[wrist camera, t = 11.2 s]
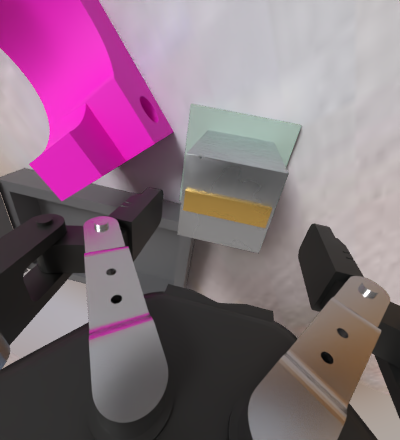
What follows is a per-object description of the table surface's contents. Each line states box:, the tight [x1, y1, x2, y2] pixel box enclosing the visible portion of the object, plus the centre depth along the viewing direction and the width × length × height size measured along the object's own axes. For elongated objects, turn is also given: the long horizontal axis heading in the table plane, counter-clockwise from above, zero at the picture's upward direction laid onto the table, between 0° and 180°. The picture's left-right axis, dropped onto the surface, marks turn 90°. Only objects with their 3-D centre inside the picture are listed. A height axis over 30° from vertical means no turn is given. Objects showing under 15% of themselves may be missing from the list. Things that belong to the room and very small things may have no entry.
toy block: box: [0, 0, 173, 201], centre depth 13 cm, size 15×6×8 cm, turn 30°
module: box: [177, 130, 289, 253], centre depth 15 cm, size 5×5×7 cm
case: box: [0, 168, 195, 294], centre depth 18 cm, size 24×11×16 cm, turn 81°
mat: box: [179, 104, 301, 201], centre depth 18 cm, size 8×8×1 cm
